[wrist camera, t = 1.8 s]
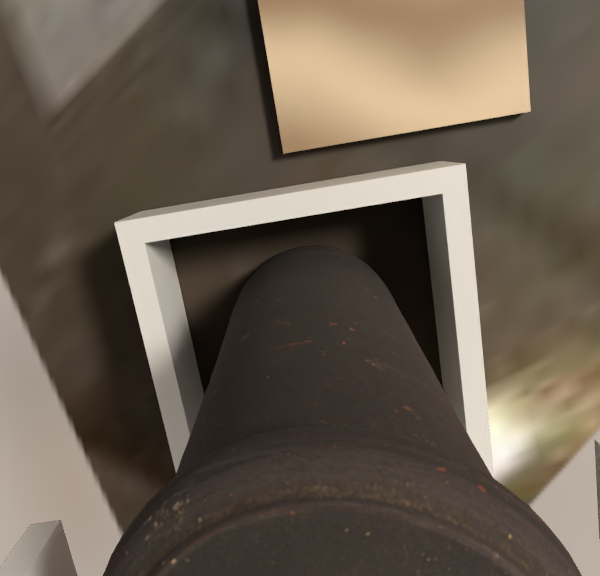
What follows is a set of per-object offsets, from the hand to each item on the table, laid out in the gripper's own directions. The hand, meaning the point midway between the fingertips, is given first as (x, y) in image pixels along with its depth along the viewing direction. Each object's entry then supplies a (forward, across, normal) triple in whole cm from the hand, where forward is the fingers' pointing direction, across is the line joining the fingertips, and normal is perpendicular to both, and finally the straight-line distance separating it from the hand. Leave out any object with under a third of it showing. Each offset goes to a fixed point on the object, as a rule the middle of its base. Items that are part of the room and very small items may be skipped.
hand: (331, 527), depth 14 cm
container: (+15, 0, 0) cm, 15 cm away
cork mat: (+14, +6, +14) cm, 21 cm away
